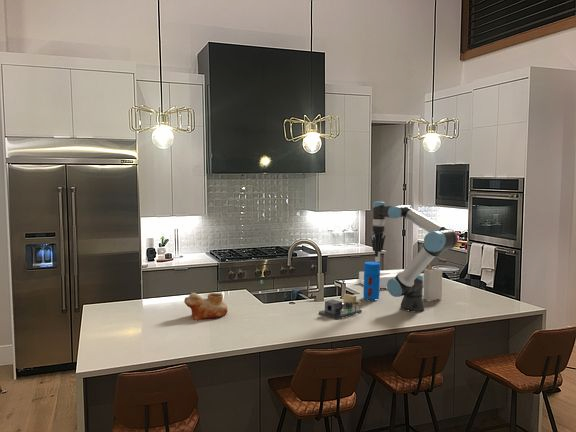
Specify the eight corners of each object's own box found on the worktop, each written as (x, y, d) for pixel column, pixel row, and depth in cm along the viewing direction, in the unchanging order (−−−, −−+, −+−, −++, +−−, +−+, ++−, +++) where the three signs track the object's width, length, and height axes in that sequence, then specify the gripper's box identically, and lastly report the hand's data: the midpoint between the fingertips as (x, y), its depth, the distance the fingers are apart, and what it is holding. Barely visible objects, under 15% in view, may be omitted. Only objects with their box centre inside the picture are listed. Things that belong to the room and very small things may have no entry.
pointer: (352, 310, 323) (352, 303, 322) (350, 311, 321) (350, 303, 321) (348, 309, 325) (348, 301, 325) (346, 310, 324) (346, 302, 323)
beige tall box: (441, 300, 364) (443, 263, 362) (428, 301, 359) (429, 265, 357) (434, 297, 371) (435, 261, 369) (420, 299, 366) (422, 263, 364)
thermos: (362, 300, 360) (363, 263, 358) (364, 296, 371) (365, 261, 368) (378, 301, 357) (379, 265, 355) (380, 297, 367) (381, 262, 365)
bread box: (409, 280, 425) (410, 269, 424) (424, 286, 404) (425, 274, 403) (358, 283, 411) (359, 271, 410) (371, 290, 390) (372, 277, 389)
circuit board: (361, 312, 330) (362, 299, 329) (336, 319, 315) (337, 305, 314) (343, 307, 341) (344, 294, 340) (318, 313, 326) (319, 300, 325)
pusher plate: (360, 309, 329) (361, 297, 328) (343, 314, 318) (344, 301, 317) (346, 305, 338) (346, 293, 337) (329, 310, 327) (329, 297, 326)
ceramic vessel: (182, 315, 319) (182, 291, 318) (224, 311, 328) (224, 288, 327) (186, 322, 306) (186, 296, 305) (230, 317, 316) (230, 293, 314)
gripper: (380, 224, 349) (379, 259, 351) (367, 225, 340) (366, 261, 342) (389, 225, 343) (388, 261, 346) (376, 226, 334) (375, 263, 337)
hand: (377, 261), depth 344 cm, fingers closed
